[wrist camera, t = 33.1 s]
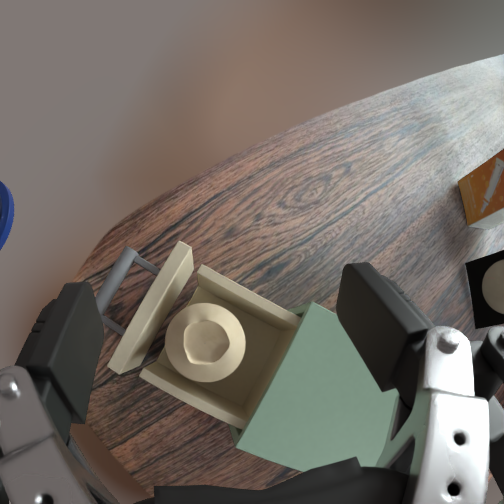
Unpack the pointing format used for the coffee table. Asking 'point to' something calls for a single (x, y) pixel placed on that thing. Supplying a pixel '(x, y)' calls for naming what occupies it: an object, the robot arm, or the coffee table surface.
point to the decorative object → (487, 289)
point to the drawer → (208, 291)
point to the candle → (205, 342)
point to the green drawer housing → (318, 401)
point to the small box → (484, 194)
